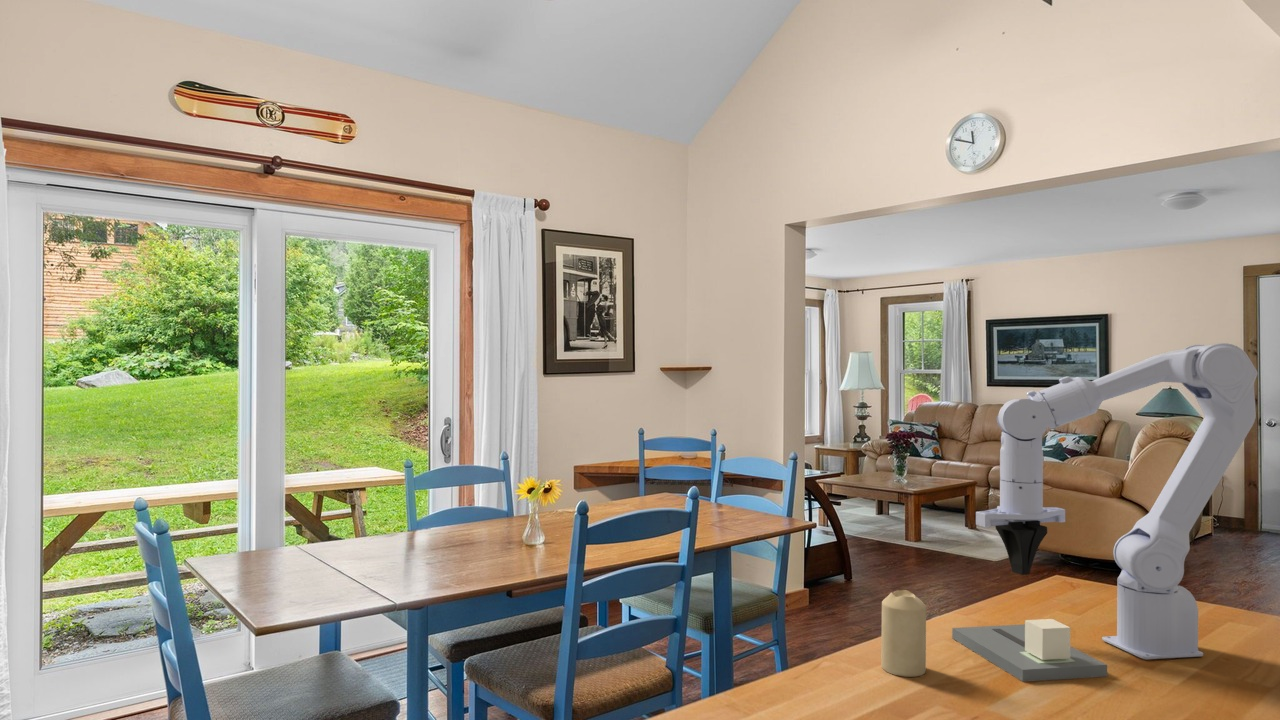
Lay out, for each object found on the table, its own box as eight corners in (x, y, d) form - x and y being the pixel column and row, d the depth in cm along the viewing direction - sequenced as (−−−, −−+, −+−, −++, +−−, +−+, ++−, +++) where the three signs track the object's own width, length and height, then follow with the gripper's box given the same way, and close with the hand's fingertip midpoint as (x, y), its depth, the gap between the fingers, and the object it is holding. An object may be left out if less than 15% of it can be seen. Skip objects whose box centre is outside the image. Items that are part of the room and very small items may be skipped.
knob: (1051, 648, 107) (1052, 618, 107) (1070, 658, 103) (1070, 627, 103) (1024, 650, 106) (1025, 620, 106) (1042, 659, 102) (1042, 628, 102)
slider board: (1026, 634, 118) (1026, 623, 118) (1107, 676, 102) (1107, 663, 102) (952, 638, 116) (952, 627, 116) (1022, 681, 100) (1022, 668, 100)
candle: (928, 679, 101) (929, 600, 101) (883, 675, 102) (884, 597, 102) (922, 663, 106) (922, 588, 106) (879, 659, 107) (879, 585, 107)
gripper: (1039, 475, 123) (1039, 563, 123) (961, 478, 118) (961, 569, 118) (1077, 481, 116) (1076, 574, 116) (996, 485, 112) (995, 582, 112)
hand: (1020, 573), depth 117 cm, fingers closed
